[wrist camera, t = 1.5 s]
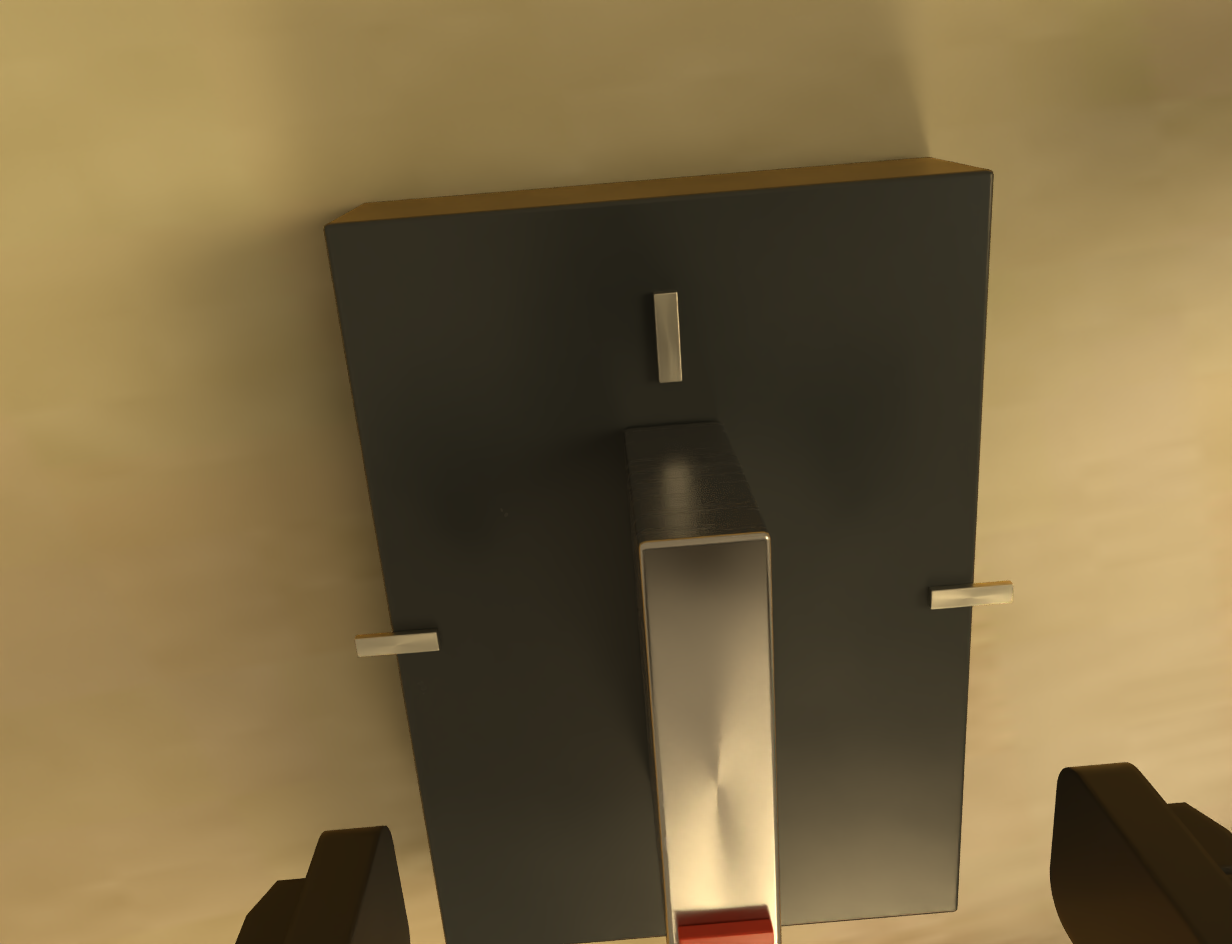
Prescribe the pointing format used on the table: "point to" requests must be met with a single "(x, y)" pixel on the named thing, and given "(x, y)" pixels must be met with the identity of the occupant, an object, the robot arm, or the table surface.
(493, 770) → the panel
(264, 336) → the table surface
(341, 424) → the table surface
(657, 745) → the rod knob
